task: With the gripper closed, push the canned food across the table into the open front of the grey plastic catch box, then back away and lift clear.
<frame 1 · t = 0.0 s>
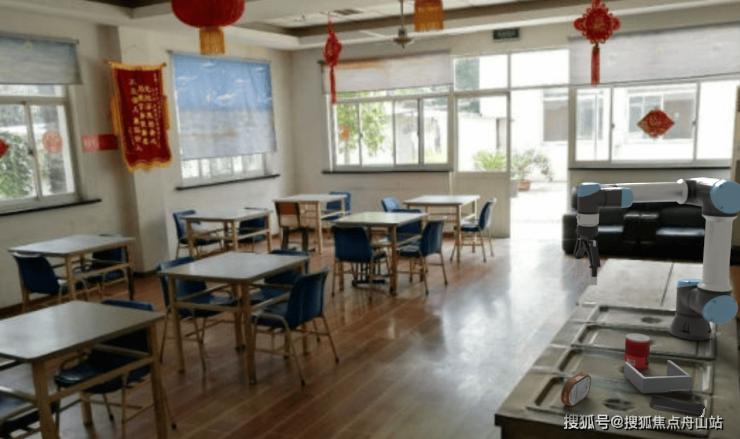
hand: (585, 280, 224), 28 cm above the counter, tool pointing down, fingers open, 13 cm apart
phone: (677, 408, 182), on the counter
catch box: (655, 382, 199), on the counter
tin: (576, 402, 188), on the counter
canned food: (636, 366, 213), on the counter
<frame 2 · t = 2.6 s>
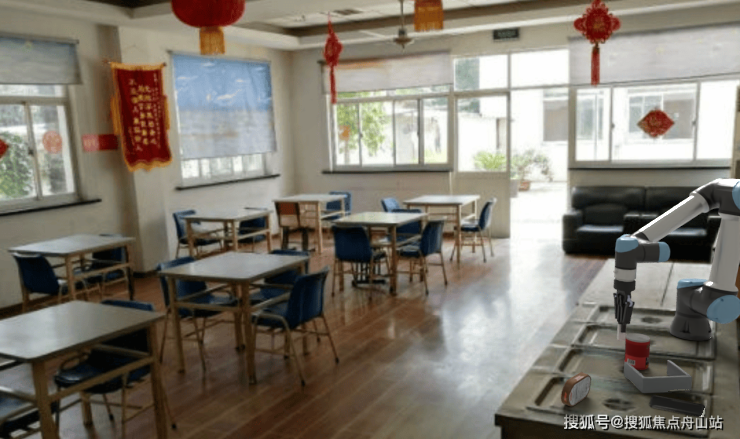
hand: (621, 339, 224), 5 cm above the counter, tool pointing down, fingers closed
nothing on the counter moved.
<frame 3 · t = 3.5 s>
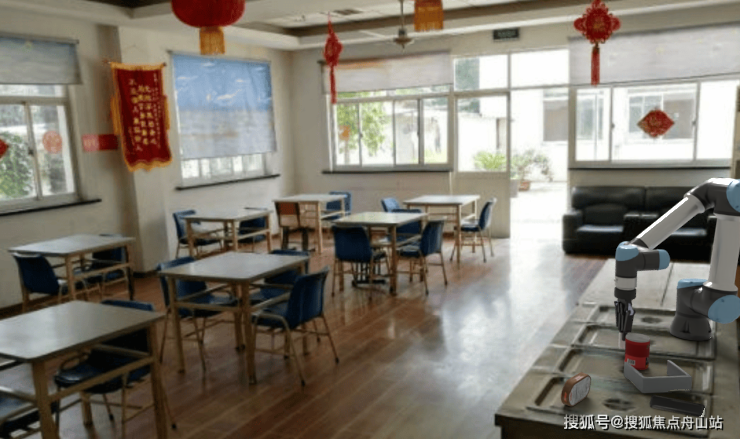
hand: (622, 347, 224), 2 cm above the counter, tool pointing down, fingers closed
nothing on the counter moved.
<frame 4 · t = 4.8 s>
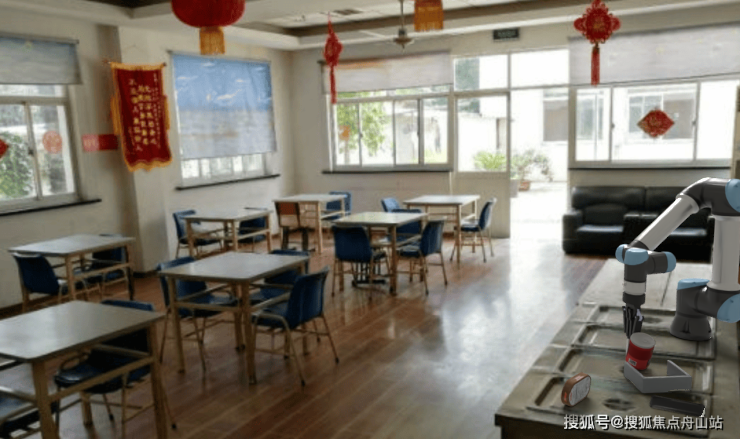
hand: (630, 354, 216), 3 cm above the counter, tool pointing down, fingers closed
canned food: (636, 363, 213), point 1 cm above the counter, touching gripper, hand
everything else where it was.
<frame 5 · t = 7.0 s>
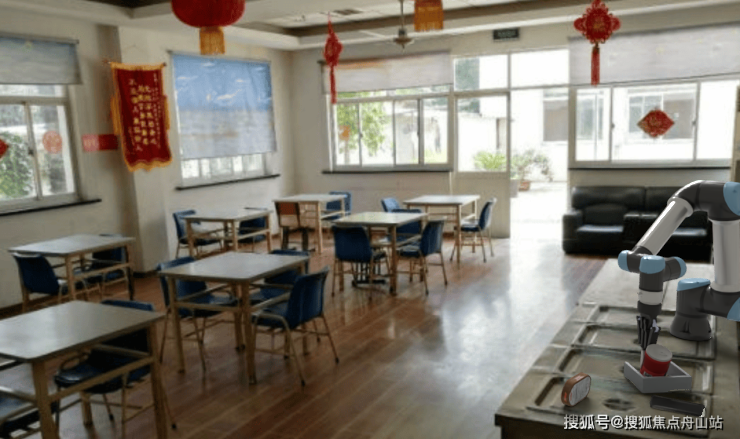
hand: (644, 366, 205), 3 cm above the counter, tool pointing down, fingers closed
canned food: (651, 376, 202), point 1 cm above the counter, touching gripper, hand
everything else where it was.
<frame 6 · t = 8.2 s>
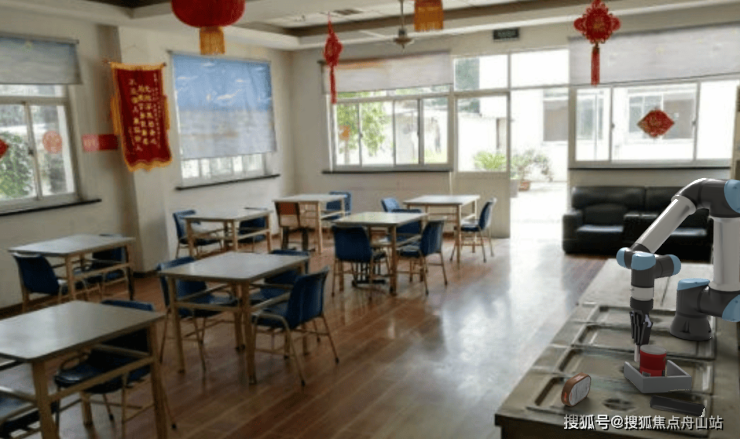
hand: (639, 361, 211), 2 cm above the counter, tool pointing down, fingers closed
canned food: (651, 379, 202), resting in catch box
everything else where it was.
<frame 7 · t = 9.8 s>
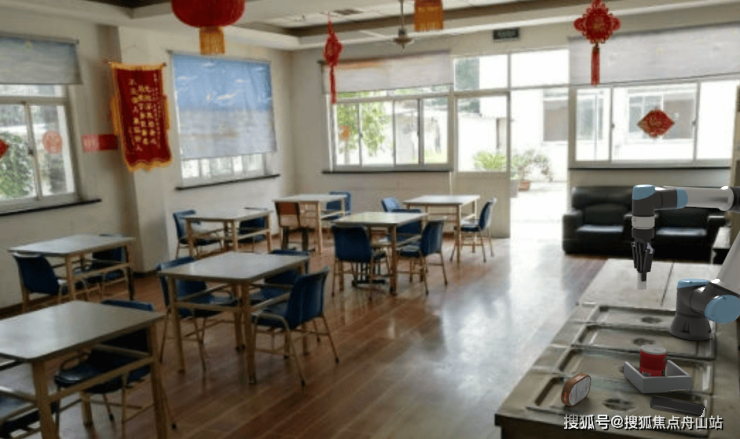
hand: (641, 288, 222), 25 cm above the counter, tool pointing down, fingers closed
nothing on the counter moved.
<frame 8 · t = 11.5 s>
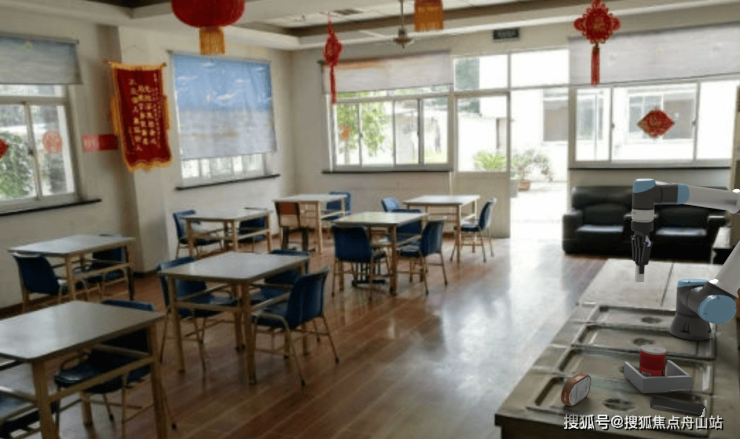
hand: (639, 281, 226), 26 cm above the counter, tool pointing down, fingers closed
nothing on the counter moved.
at the end: canned food inside the target area on the catch box (3.9 cm from its centre), point 0.0 cm above the catch box's base; canned food tilted 0°; canned food moved 11.1 cm from its start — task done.
